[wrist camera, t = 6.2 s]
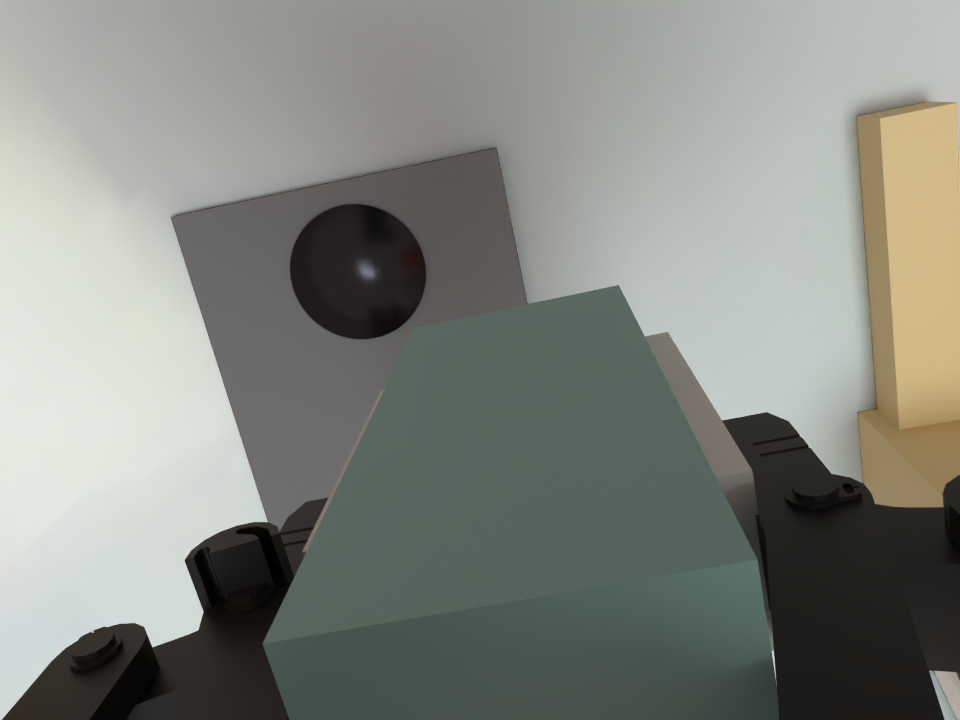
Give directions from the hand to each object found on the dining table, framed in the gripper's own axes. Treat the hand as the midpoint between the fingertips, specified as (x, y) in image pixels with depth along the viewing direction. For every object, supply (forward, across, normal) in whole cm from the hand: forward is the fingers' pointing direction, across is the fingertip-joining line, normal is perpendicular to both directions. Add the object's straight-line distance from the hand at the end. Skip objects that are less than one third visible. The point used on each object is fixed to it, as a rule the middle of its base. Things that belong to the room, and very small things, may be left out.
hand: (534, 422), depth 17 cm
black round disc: (+20, -8, +1) cm, 21 cm away
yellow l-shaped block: (+20, +15, -6) cm, 26 cm away
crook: (+1, +4, -8) cm, 9 cm away
